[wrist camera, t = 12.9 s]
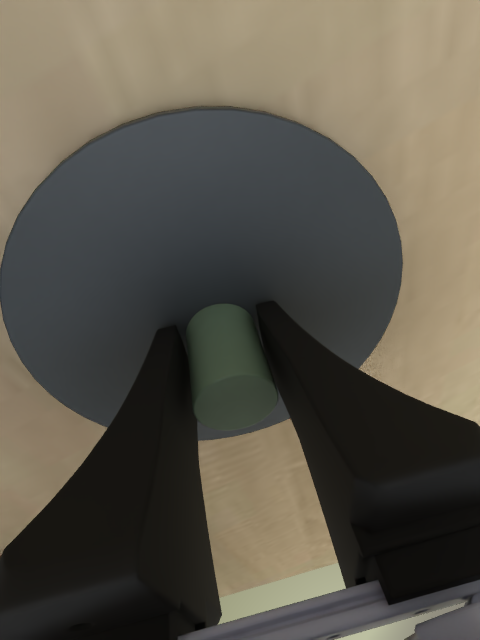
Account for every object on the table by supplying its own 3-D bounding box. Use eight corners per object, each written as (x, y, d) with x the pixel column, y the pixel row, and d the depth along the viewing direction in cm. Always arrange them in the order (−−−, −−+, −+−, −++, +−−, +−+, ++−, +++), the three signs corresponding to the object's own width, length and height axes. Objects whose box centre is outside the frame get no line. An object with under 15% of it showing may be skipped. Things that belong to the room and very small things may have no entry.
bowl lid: (316, 418, 18) (351, 499, 15) (42, 425, 15) (7, 534, 11) (459, 155, 10) (595, 202, 7) (-43, 36, 7) (-229, 20, 4)
